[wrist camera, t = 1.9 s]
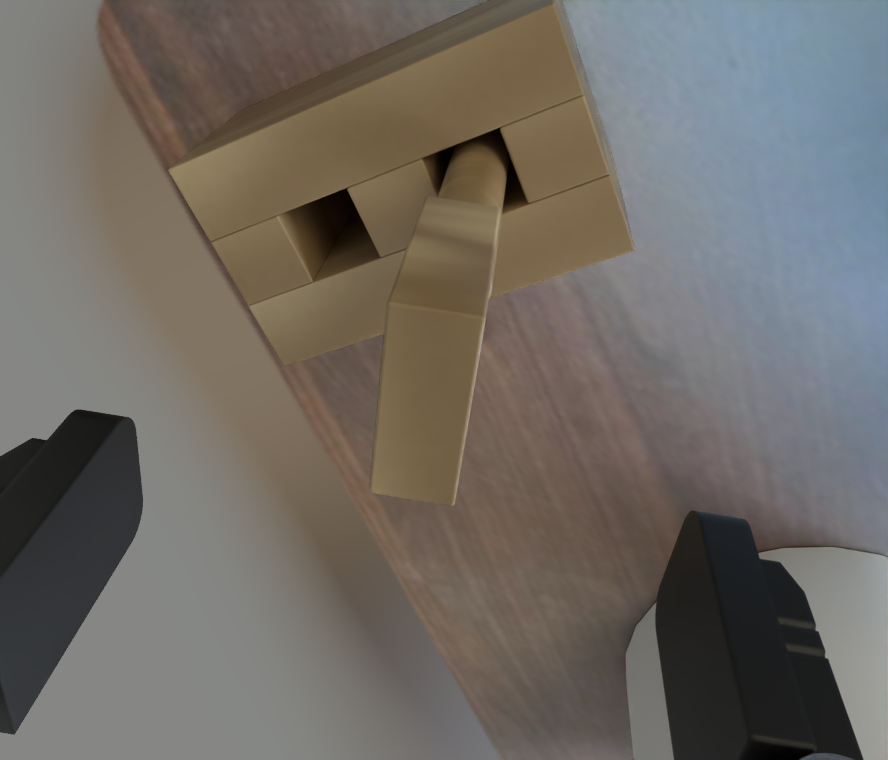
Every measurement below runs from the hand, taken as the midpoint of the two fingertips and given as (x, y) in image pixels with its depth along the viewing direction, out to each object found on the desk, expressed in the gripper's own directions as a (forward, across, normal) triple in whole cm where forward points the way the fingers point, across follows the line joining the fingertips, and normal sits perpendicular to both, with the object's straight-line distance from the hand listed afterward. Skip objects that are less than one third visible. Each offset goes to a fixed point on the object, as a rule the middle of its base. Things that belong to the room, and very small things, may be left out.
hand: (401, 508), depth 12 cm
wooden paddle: (+22, 0, 0) cm, 22 cm away
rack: (+22, +2, +1) cm, 22 cm away
